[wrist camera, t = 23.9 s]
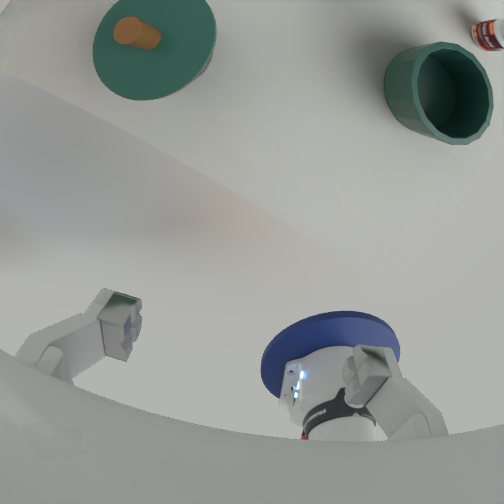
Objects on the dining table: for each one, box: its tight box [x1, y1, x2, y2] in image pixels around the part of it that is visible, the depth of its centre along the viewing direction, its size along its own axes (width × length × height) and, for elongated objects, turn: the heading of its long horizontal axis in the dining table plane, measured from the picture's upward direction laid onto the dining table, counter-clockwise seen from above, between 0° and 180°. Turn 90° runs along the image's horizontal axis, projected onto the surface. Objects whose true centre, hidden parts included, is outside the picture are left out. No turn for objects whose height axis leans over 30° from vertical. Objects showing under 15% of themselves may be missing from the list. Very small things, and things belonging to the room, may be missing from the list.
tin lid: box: [93, 0, 216, 100], centre depth 21 cm, size 13×13×6 cm
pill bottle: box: [471, 19, 504, 51], centre depth 22 cm, size 5×5×8 cm
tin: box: [384, 42, 493, 145], centre depth 28 cm, size 12×12×8 cm
